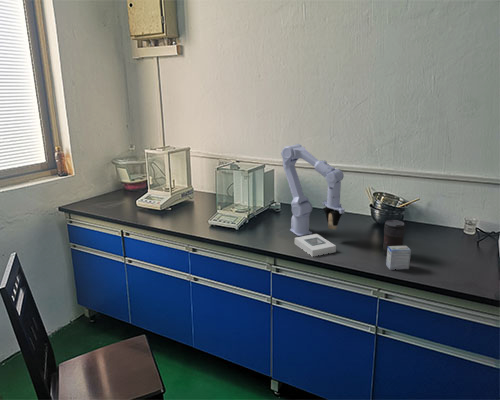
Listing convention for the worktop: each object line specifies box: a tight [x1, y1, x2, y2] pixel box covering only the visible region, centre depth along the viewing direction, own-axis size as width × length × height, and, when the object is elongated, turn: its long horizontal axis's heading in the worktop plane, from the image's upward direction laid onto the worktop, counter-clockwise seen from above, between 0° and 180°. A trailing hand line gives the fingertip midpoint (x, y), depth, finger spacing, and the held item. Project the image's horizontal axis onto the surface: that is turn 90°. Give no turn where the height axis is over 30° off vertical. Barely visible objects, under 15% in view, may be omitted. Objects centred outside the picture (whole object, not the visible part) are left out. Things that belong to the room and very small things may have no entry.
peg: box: [327, 213, 338, 231], centre depth 187 cm, size 4×4×7 cm
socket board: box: [294, 233, 337, 258], centre depth 183 cm, size 16×12×3 cm
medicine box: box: [385, 245, 412, 271], centre depth 162 cm, size 8×4×9 cm, turn 92°
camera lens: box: [382, 219, 406, 258], centre depth 172 cm, size 8×8×15 cm
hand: (332, 223), depth 187 cm, fingers closed on peg, 4 cm apart
